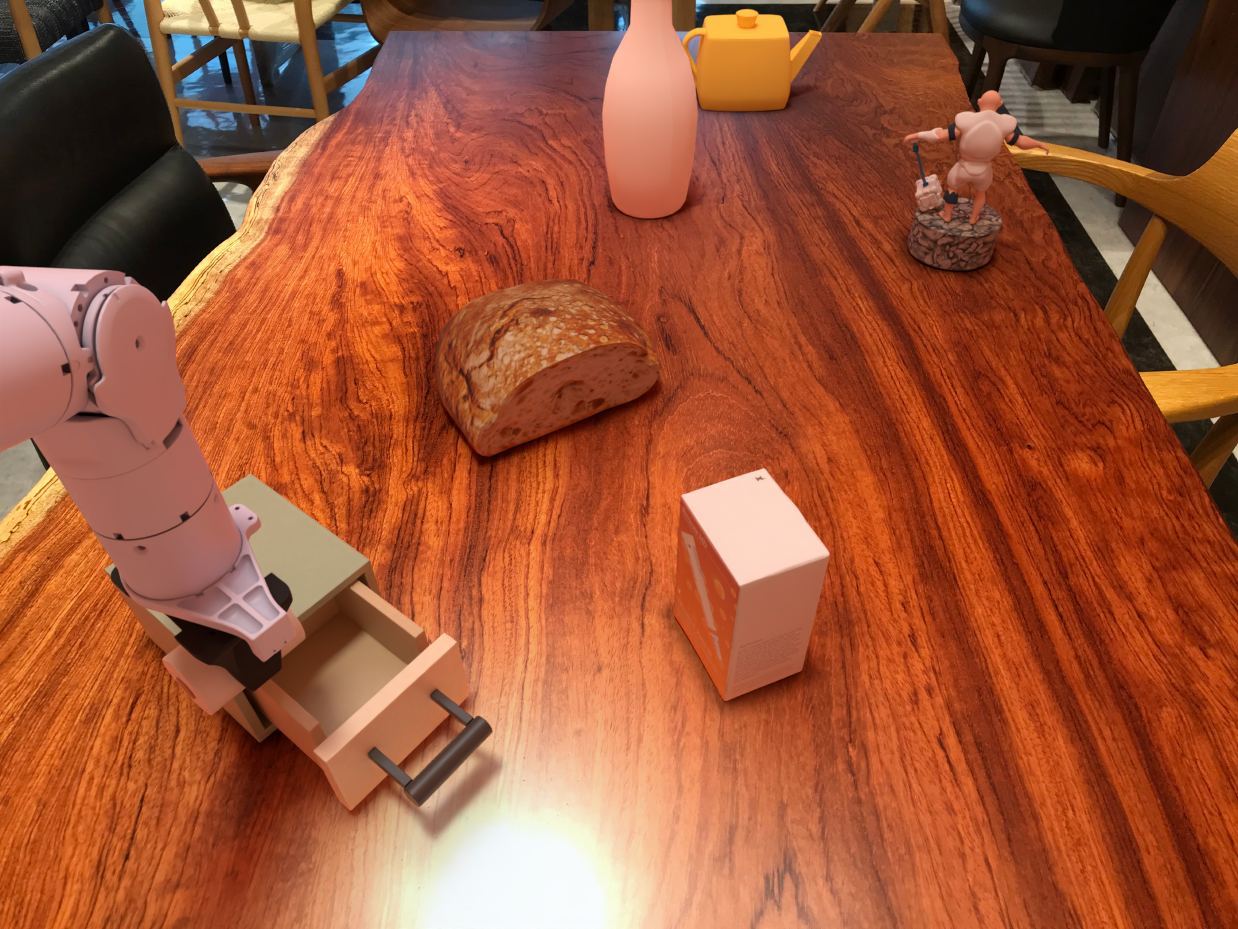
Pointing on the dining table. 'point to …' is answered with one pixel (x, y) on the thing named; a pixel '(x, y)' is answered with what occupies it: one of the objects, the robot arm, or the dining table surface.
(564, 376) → the bread
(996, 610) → the dining table surface
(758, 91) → the teapot
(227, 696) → the paper towel roll
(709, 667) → the small box
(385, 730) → the drawer
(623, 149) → the bottle
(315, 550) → the cabinet
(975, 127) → the figurine
